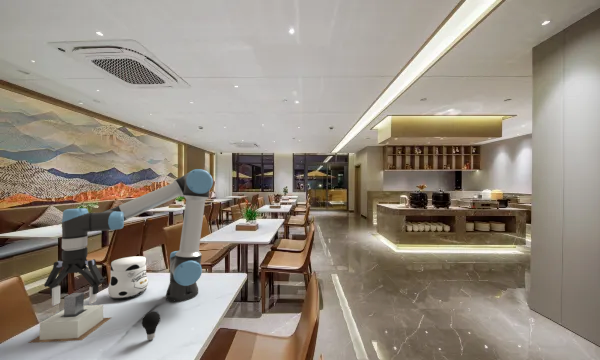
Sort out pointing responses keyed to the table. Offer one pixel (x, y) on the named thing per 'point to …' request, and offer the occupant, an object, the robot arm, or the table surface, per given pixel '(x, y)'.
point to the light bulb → (151, 323)
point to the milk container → (128, 277)
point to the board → (73, 338)
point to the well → (71, 323)
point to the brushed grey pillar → (73, 304)
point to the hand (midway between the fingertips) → (74, 303)
